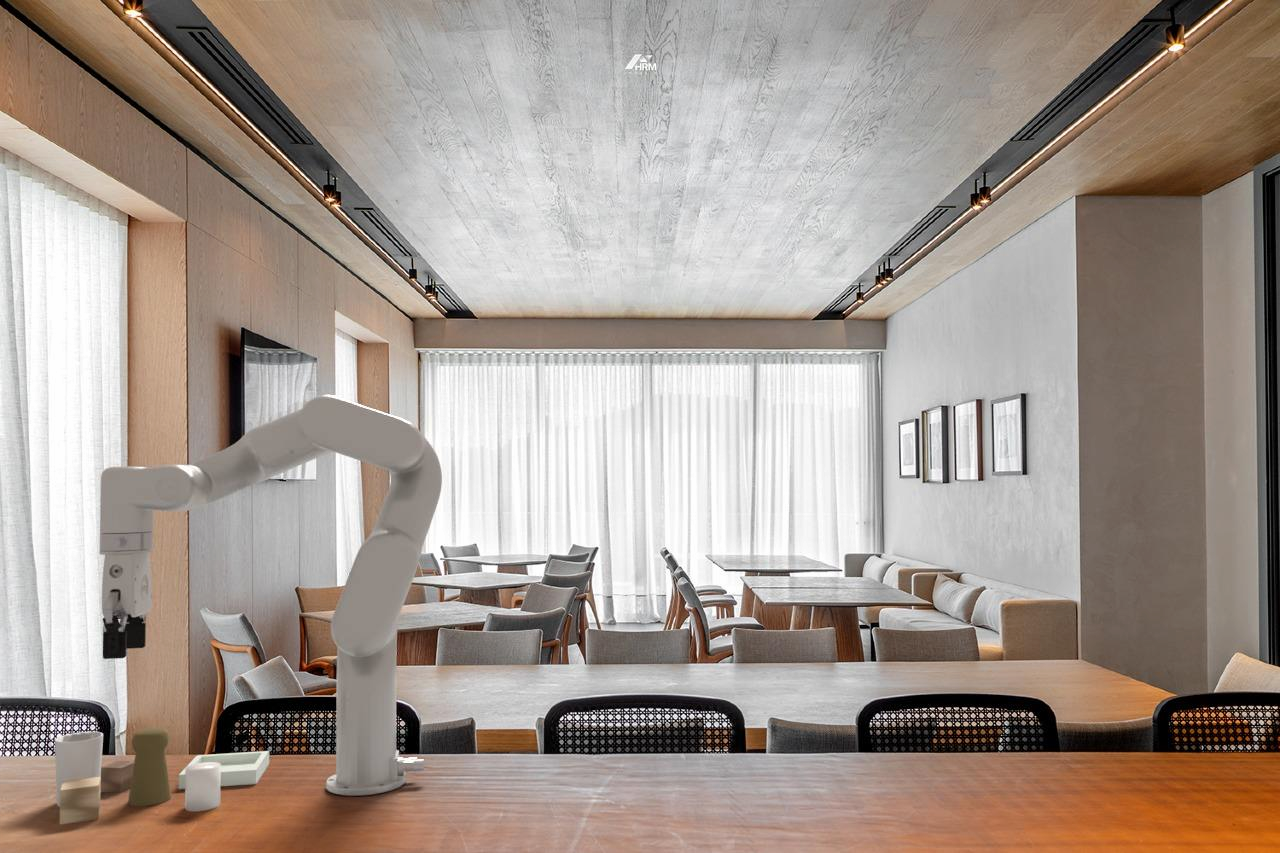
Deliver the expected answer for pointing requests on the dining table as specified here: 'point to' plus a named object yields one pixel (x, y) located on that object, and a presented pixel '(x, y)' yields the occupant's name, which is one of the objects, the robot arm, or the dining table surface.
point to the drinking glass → (77, 757)
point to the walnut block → (116, 776)
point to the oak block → (80, 800)
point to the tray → (234, 767)
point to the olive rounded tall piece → (149, 768)
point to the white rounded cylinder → (202, 786)
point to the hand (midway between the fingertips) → (124, 652)
